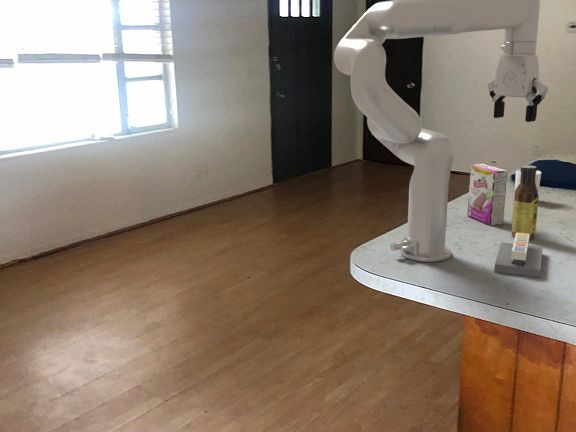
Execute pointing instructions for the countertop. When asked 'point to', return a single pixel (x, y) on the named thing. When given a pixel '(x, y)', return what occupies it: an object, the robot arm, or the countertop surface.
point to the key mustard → (522, 235)
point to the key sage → (521, 240)
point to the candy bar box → (487, 194)
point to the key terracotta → (520, 245)
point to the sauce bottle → (525, 203)
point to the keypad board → (527, 269)
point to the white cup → (518, 177)
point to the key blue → (518, 255)
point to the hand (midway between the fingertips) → (514, 119)
